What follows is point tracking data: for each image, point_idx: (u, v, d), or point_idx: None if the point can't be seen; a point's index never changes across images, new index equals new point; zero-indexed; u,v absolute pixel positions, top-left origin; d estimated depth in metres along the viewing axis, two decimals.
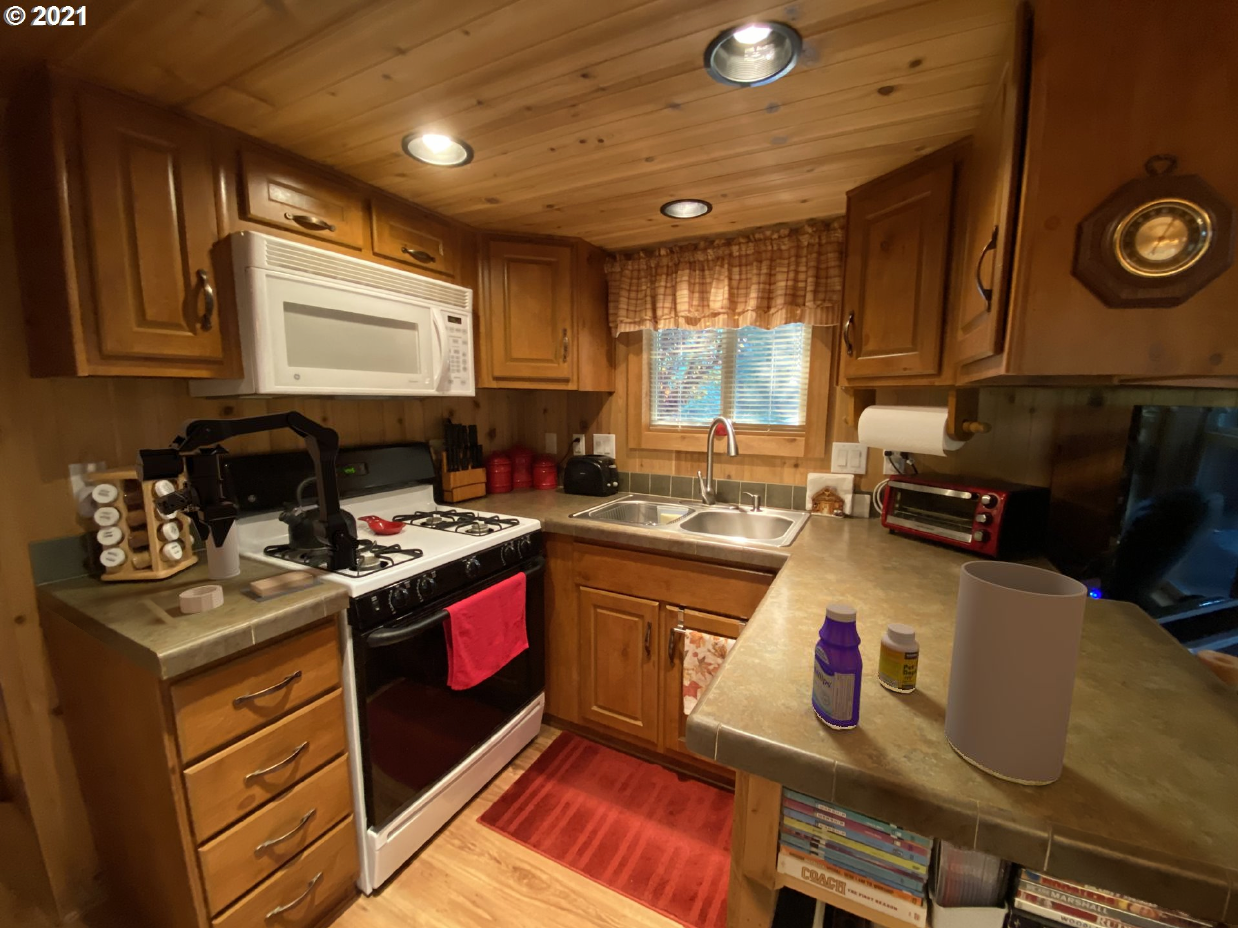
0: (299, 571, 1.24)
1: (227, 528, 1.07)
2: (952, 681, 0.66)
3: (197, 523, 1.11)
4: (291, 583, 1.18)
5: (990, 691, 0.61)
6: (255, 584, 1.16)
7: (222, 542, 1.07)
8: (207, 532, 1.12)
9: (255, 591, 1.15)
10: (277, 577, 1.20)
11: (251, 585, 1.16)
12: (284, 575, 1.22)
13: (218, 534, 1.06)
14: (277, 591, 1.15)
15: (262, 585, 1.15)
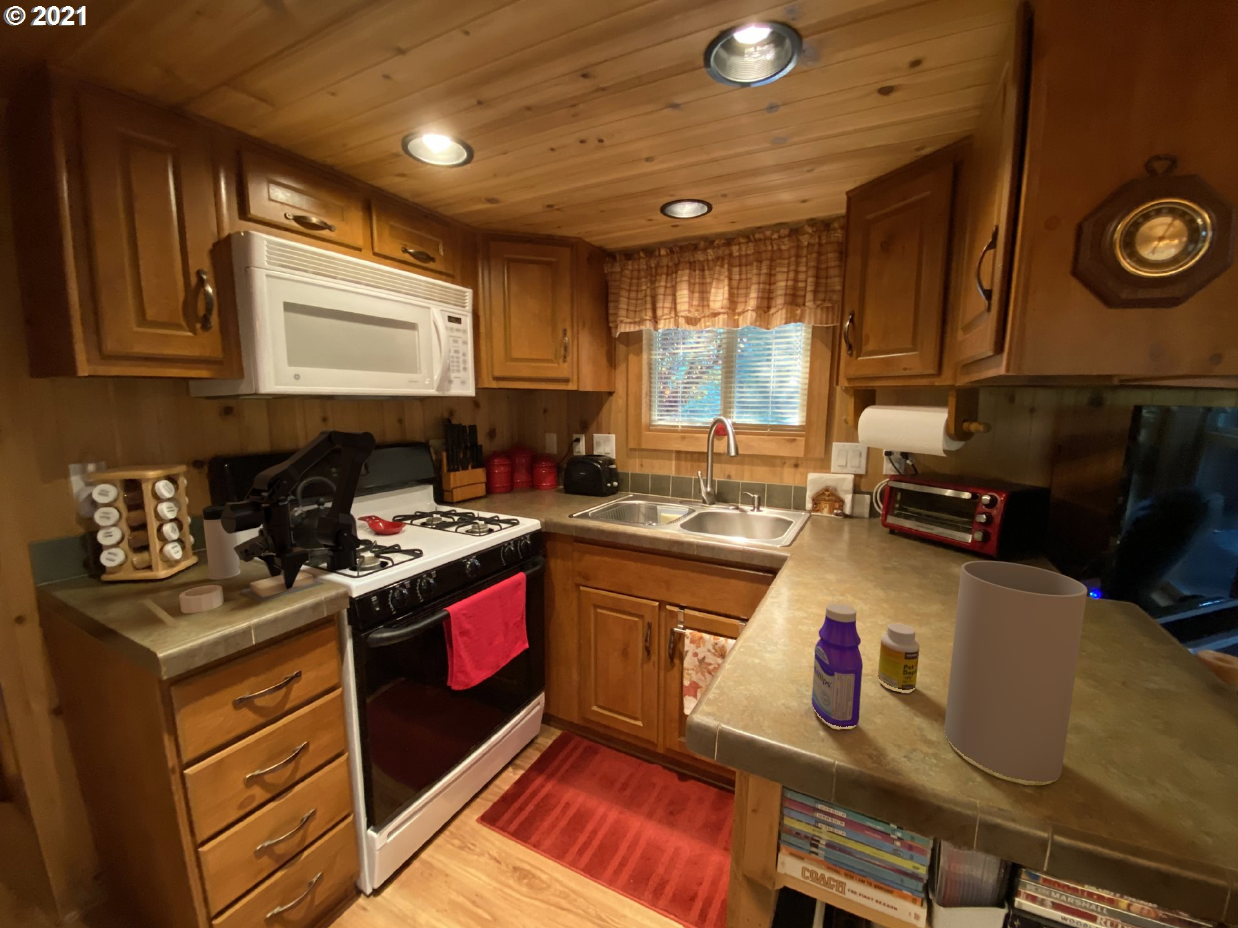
0: (299, 571, 1.24)
1: (297, 571, 1.17)
2: (952, 681, 0.66)
3: (270, 566, 1.20)
4: None
5: (990, 691, 0.61)
6: (255, 584, 1.16)
7: (292, 583, 1.17)
8: (278, 574, 1.22)
9: (255, 591, 1.15)
10: (277, 577, 1.20)
11: (251, 585, 1.16)
12: None
13: (289, 577, 1.16)
14: (277, 591, 1.15)
15: (262, 585, 1.15)
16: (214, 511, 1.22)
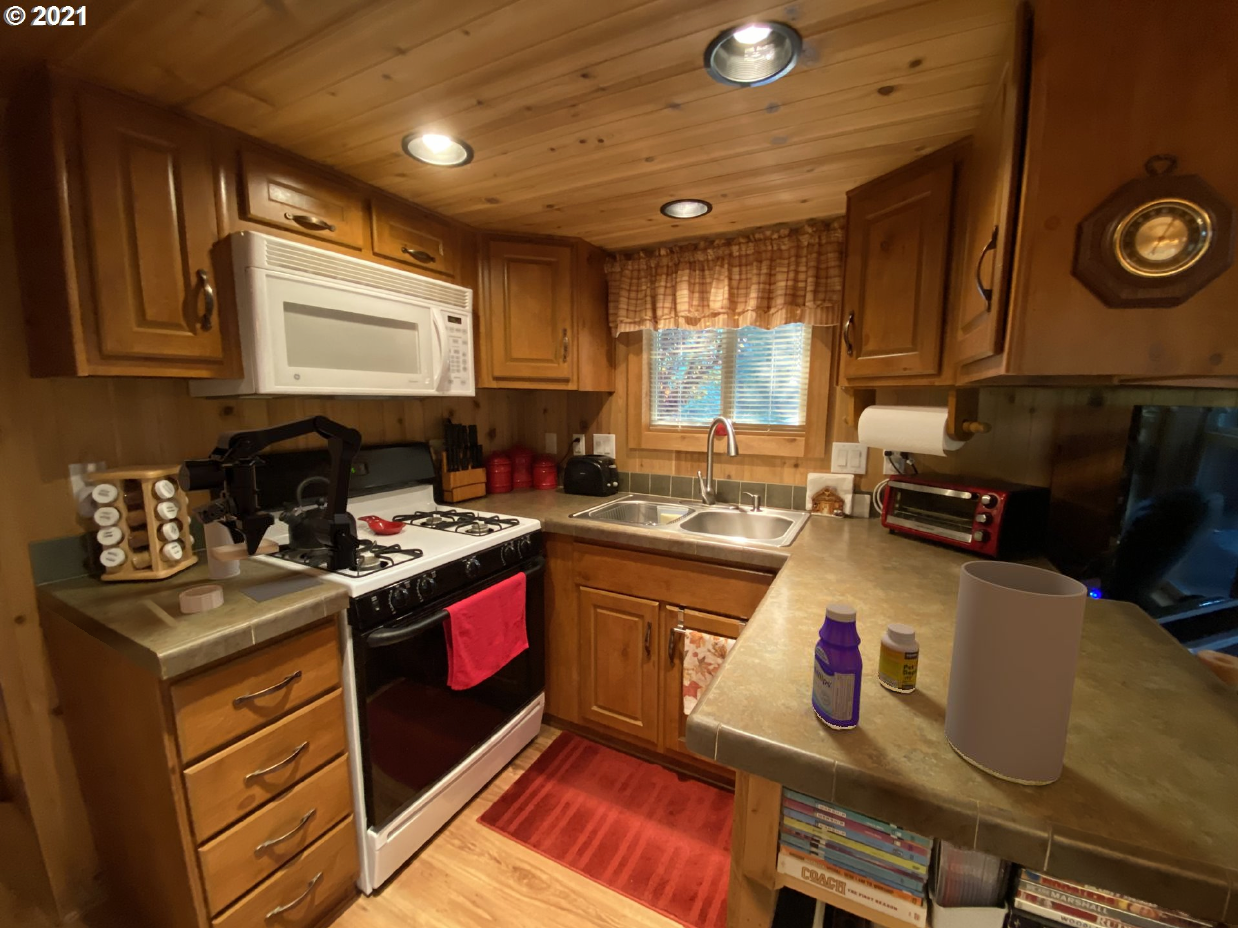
0: (265, 539, 1.18)
1: (260, 536, 1.11)
2: (952, 681, 0.66)
3: (233, 532, 1.14)
4: None
5: (990, 691, 0.61)
6: (215, 549, 1.09)
7: (255, 550, 1.11)
8: (242, 541, 1.15)
9: (215, 557, 1.09)
10: (240, 543, 1.14)
11: (211, 551, 1.10)
12: None
13: (252, 542, 1.10)
14: (238, 557, 1.09)
15: (222, 550, 1.09)
16: None
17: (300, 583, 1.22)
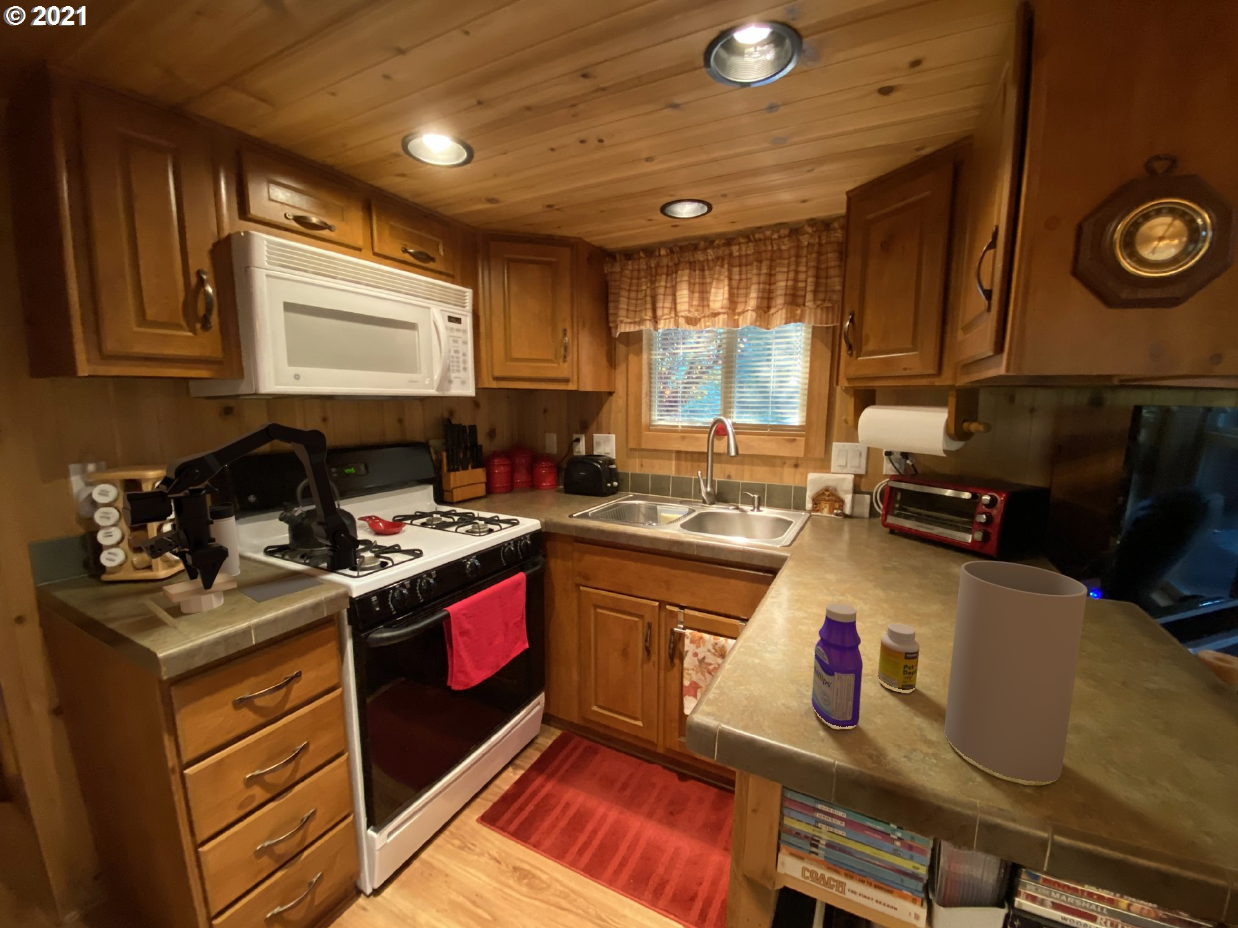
0: (223, 573, 1.13)
1: (216, 570, 1.05)
2: (952, 681, 0.66)
3: (186, 563, 1.09)
4: None
5: (990, 691, 0.61)
6: (168, 588, 1.04)
7: (211, 584, 1.05)
8: (196, 572, 1.10)
9: (167, 596, 1.03)
10: (196, 580, 1.09)
11: (163, 589, 1.04)
12: None
13: (207, 577, 1.04)
14: (192, 596, 1.04)
15: (175, 589, 1.04)
16: (214, 511, 1.22)
17: (300, 583, 1.22)
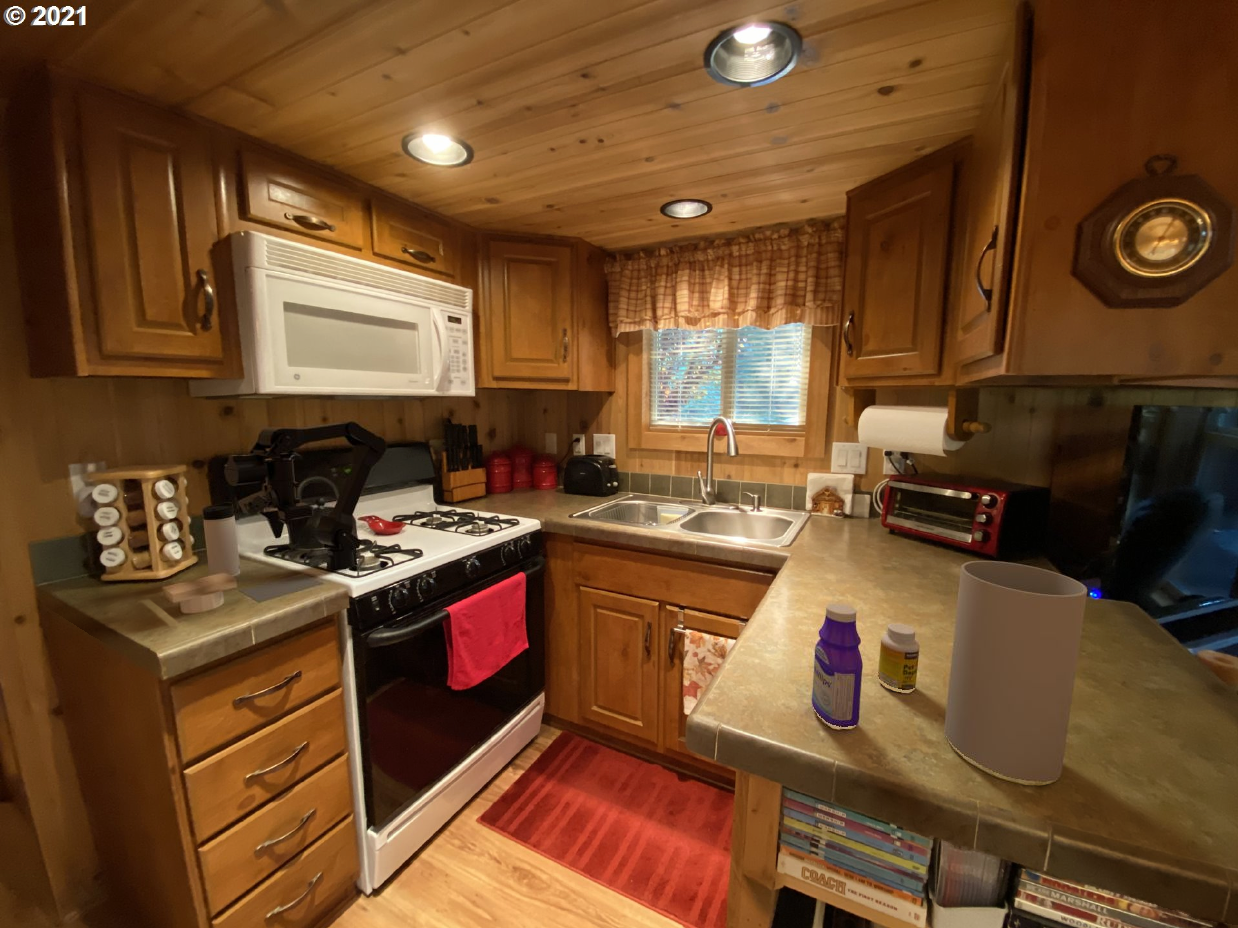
0: (223, 573, 1.13)
1: (302, 527, 1.17)
2: (952, 681, 0.66)
3: (272, 522, 1.21)
4: (209, 587, 1.06)
5: (990, 691, 0.61)
6: (168, 588, 1.04)
7: (297, 539, 1.18)
8: (280, 530, 1.23)
9: (167, 596, 1.03)
10: (196, 580, 1.09)
11: (163, 589, 1.04)
12: (204, 578, 1.10)
13: (294, 533, 1.17)
14: (192, 596, 1.04)
15: (175, 589, 1.04)
16: (214, 511, 1.22)
17: (300, 583, 1.22)
